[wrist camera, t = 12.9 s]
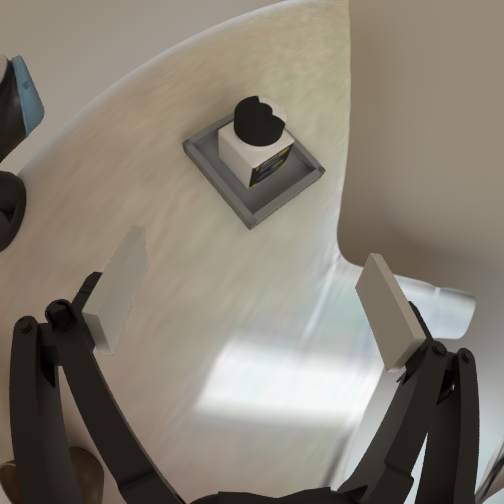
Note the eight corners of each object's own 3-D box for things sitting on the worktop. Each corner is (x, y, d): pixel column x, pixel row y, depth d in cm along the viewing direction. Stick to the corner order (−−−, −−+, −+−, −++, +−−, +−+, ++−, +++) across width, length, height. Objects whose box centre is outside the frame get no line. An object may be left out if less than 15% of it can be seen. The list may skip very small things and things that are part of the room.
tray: (184, 151, 40) (182, 142, 38) (254, 109, 43) (256, 100, 40) (249, 230, 39) (251, 225, 36) (320, 177, 41) (325, 170, 39)
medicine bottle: (248, 191, 39) (258, 146, 27) (217, 157, 40) (216, 105, 28) (285, 165, 40) (305, 117, 29) (254, 133, 41) (264, 81, 29)
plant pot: (49, 470, 27) (6, 506, 11) (49, 411, 30) (-9, 441, 14) (120, 507, 27) (93, 560, 12) (129, 452, 31) (90, 509, 15)
